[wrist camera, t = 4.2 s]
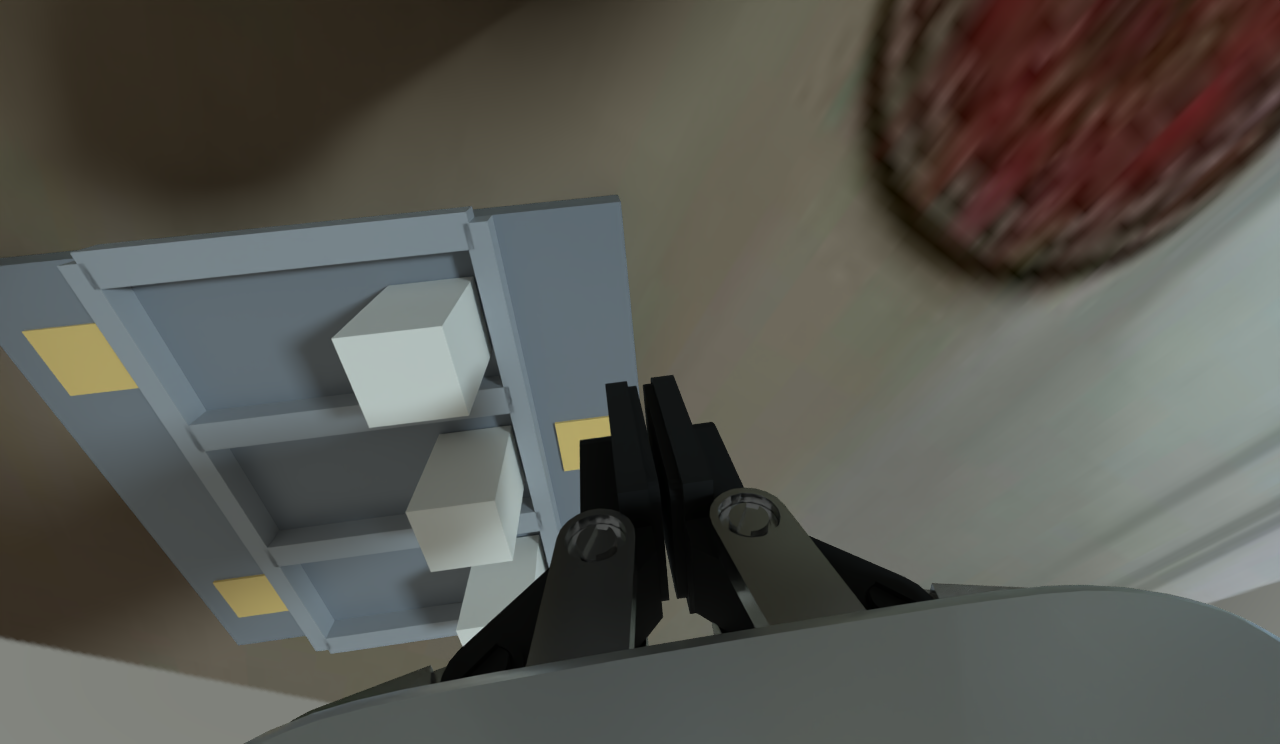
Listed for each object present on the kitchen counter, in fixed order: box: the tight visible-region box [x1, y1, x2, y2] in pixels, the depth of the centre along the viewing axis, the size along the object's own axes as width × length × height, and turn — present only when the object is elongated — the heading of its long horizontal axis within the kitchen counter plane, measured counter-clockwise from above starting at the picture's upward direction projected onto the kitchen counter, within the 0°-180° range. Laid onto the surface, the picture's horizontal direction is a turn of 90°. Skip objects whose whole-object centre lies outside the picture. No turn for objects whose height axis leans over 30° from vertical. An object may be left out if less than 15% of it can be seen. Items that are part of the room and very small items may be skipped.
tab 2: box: [405, 425, 525, 572], centre depth 19 cm, size 3×3×4 cm
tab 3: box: [456, 535, 548, 646], centre depth 23 cm, size 3×3×4 cm
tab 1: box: [331, 276, 492, 428], centre depth 16 cm, size 3×3×4 cm
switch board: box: [0, 195, 640, 654], centre depth 21 cm, size 22×21×2 cm
